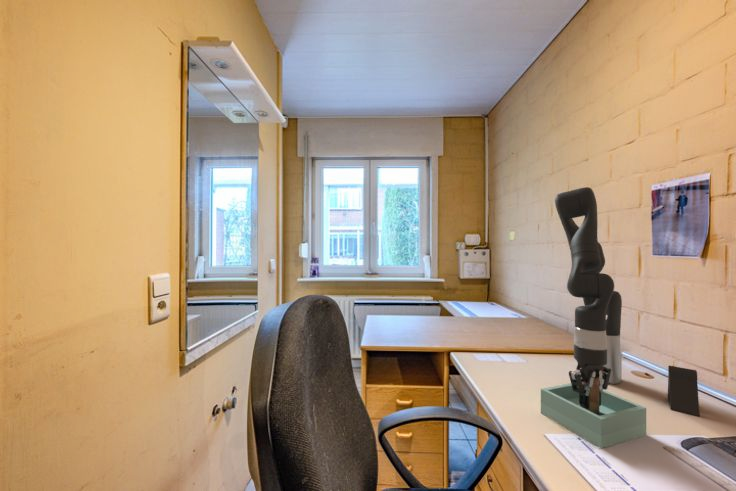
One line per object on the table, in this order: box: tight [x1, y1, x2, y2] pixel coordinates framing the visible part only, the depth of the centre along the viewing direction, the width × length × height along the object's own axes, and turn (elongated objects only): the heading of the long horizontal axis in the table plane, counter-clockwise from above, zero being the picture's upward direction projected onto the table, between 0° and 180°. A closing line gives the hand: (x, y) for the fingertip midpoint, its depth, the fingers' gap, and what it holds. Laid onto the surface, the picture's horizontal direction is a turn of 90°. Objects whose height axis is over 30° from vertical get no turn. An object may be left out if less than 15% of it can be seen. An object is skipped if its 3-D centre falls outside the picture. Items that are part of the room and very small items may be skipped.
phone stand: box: [667, 365, 700, 417], centre depth 94 cm, size 9×6×12 cm, turn 139°
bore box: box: [540, 382, 647, 449], centre depth 85 cm, size 17×17×7 cm
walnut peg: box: [582, 377, 599, 415], centre depth 85 cm, size 4×4×12 cm
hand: (590, 405), depth 85 cm, fingers closed on walnut peg, 4 cm apart
